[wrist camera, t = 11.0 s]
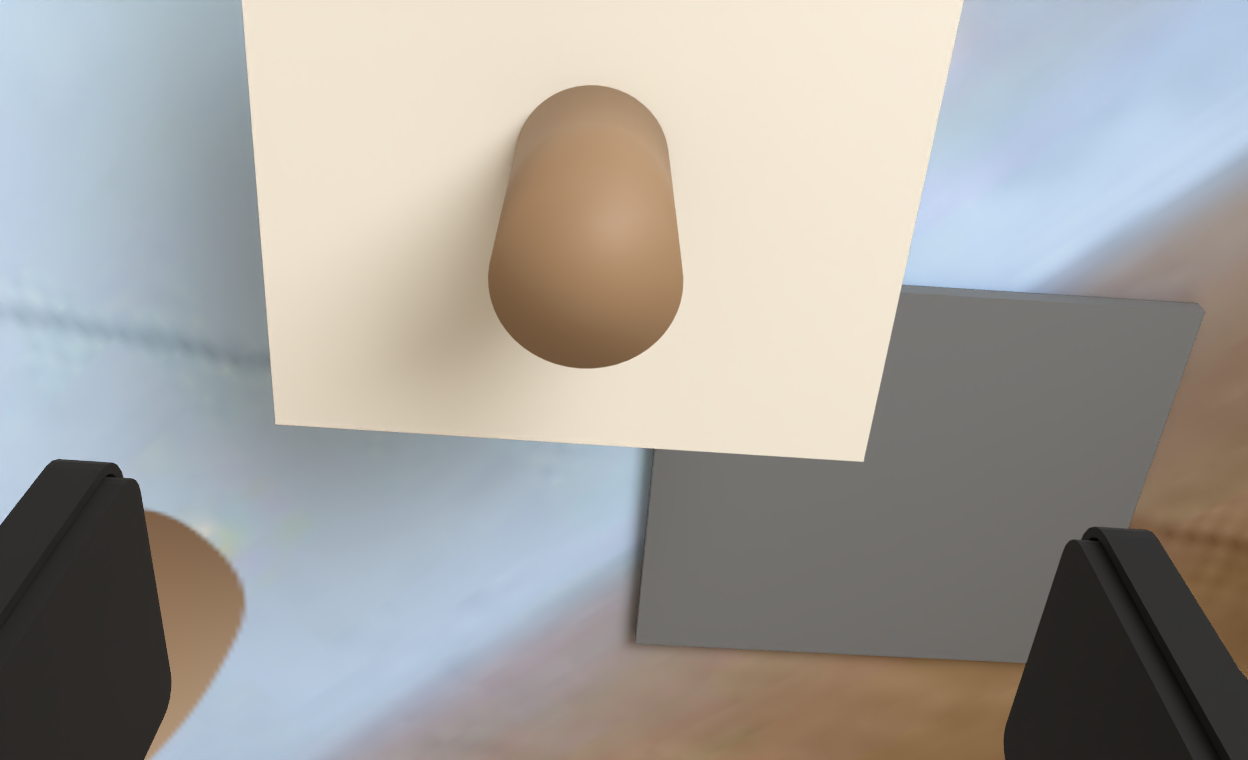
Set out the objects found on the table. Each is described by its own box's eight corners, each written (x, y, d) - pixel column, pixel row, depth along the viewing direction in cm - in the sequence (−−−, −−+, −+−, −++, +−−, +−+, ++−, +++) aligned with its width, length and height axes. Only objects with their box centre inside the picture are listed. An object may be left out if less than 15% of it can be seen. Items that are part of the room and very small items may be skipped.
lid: (984, -185, 22) (1128, -145, 16) (854, 435, 29) (919, 632, 23) (240, -251, 22) (88, -237, 15) (287, 398, 29) (196, 590, 22)
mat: (1197, 303, 40) (1205, 311, 39) (1074, 655, 48) (1079, 665, 47) (671, 270, 39) (672, 277, 39) (635, 633, 47) (635, 643, 47)
